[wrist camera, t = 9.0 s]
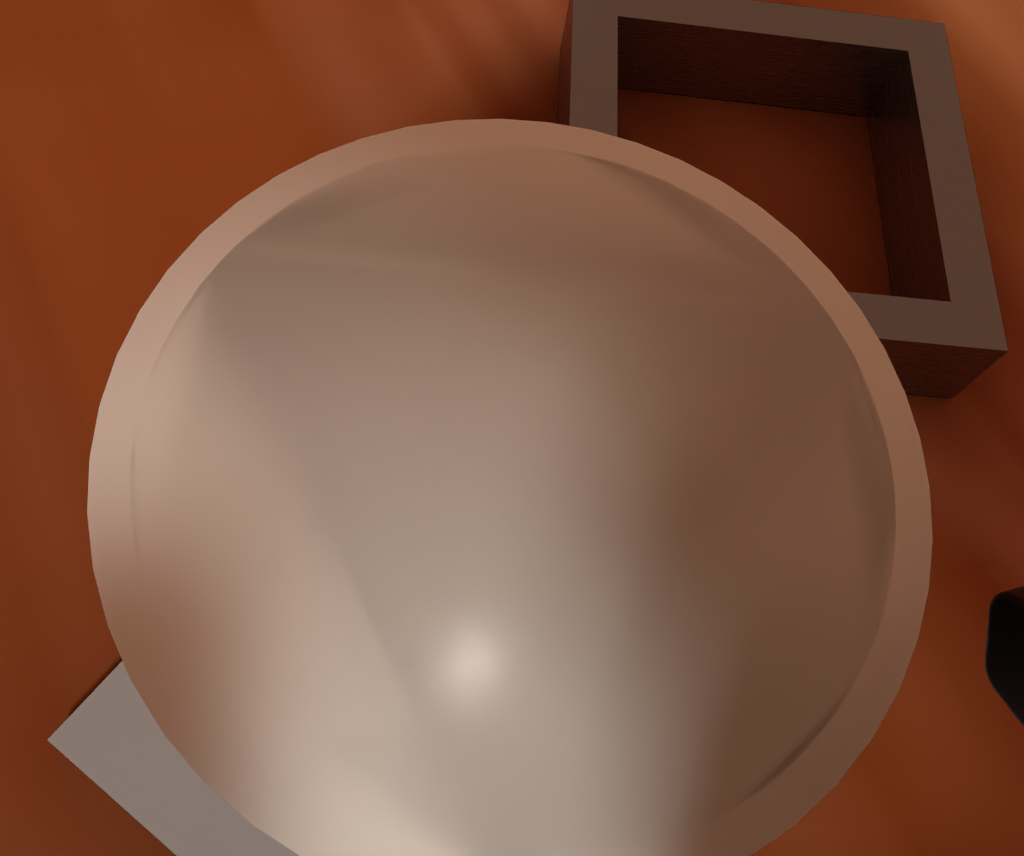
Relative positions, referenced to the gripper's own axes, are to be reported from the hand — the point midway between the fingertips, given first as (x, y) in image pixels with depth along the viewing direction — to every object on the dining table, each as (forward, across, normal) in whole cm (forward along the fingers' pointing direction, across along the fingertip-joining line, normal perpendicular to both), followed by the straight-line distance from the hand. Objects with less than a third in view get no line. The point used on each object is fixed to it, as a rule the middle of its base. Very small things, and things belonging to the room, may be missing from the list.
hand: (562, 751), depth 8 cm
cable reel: (+9, 0, +6) cm, 11 cm away
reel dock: (+17, -11, -1) cm, 20 cm away
